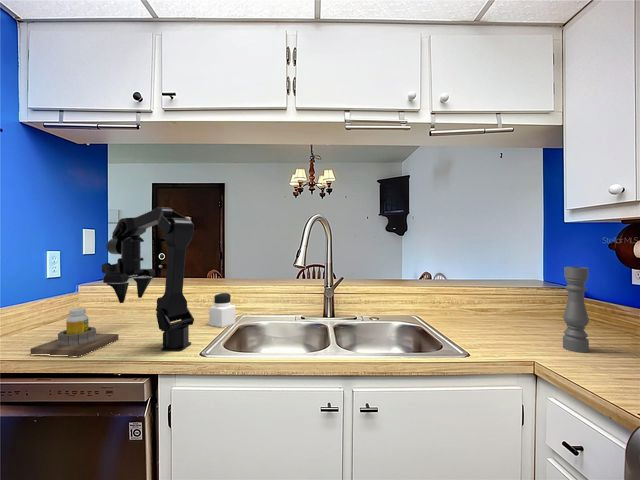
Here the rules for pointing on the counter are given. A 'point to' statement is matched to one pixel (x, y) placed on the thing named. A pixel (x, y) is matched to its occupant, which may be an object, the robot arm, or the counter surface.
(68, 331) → the supplement bottle
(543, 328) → the counter surface
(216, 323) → the medicine bottle
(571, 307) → the candle holder
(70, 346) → the brown base with ring
